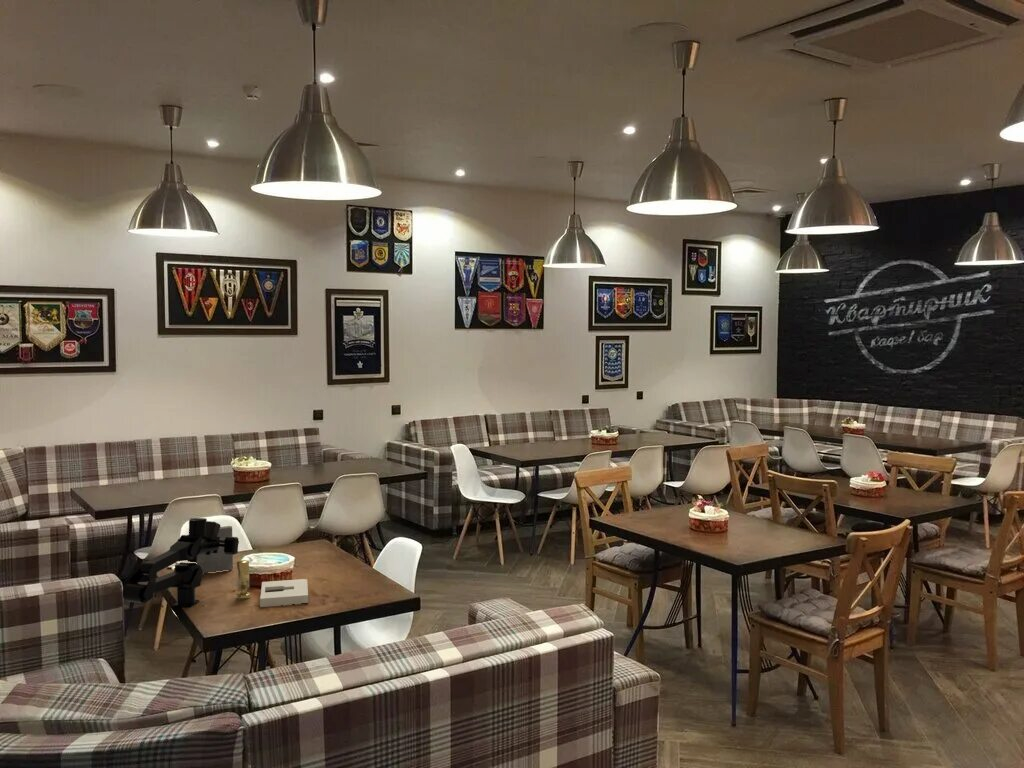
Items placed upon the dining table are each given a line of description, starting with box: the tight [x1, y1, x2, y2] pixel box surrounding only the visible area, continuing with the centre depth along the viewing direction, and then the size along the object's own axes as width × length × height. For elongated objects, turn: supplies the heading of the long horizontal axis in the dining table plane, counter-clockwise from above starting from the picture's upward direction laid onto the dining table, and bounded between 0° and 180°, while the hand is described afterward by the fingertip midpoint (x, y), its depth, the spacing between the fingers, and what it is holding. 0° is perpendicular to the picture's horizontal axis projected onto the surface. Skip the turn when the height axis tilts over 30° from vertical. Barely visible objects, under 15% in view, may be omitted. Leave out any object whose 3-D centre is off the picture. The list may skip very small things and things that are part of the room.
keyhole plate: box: [259, 578, 309, 608], centre depth 298 cm, size 16×20×3 cm
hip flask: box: [196, 525, 234, 573], centre depth 328 cm, size 16×4×20 cm, turn 114°
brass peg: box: [236, 559, 252, 601], centre depth 296 cm, size 5×5×13 cm
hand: (227, 541), depth 312 cm, fingers open, 9 cm apart
